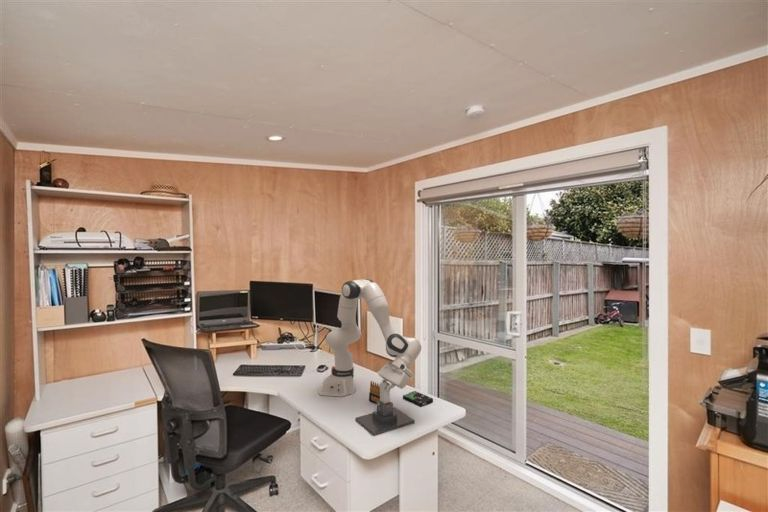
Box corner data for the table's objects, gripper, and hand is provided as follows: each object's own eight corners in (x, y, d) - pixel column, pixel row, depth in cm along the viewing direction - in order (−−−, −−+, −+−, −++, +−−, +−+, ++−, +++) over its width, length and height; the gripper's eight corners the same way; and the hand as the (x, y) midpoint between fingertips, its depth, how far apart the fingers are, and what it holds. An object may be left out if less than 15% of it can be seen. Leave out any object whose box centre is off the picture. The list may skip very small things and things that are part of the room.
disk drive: (433, 403, 214) (414, 394, 225) (433, 398, 214) (414, 390, 225) (421, 408, 207) (402, 399, 218) (421, 403, 207) (402, 394, 218)
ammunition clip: (368, 401, 215) (369, 380, 214) (371, 400, 216) (371, 379, 215) (382, 406, 207) (382, 385, 207) (384, 405, 209) (384, 384, 208)
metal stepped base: (373, 436, 176) (373, 414, 175) (355, 420, 191) (355, 401, 190) (414, 423, 188) (414, 403, 188) (394, 409, 204) (394, 391, 203)
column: (383, 413, 187) (383, 385, 186) (379, 411, 190) (379, 382, 190) (389, 412, 189) (390, 383, 188) (385, 409, 192) (386, 381, 192)
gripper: (385, 357, 201) (369, 379, 196) (408, 368, 184) (391, 392, 179) (392, 364, 204) (376, 385, 199) (415, 375, 186) (398, 399, 182)
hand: (383, 389), depth 189 cm, fingers closed on column, 4 cm apart
